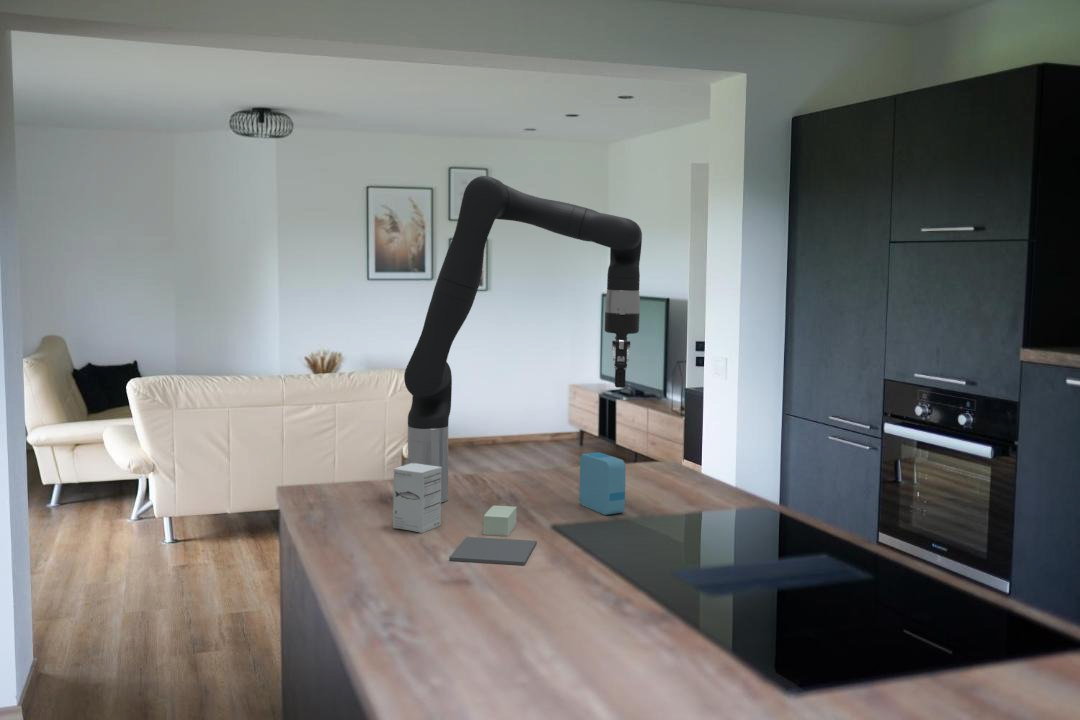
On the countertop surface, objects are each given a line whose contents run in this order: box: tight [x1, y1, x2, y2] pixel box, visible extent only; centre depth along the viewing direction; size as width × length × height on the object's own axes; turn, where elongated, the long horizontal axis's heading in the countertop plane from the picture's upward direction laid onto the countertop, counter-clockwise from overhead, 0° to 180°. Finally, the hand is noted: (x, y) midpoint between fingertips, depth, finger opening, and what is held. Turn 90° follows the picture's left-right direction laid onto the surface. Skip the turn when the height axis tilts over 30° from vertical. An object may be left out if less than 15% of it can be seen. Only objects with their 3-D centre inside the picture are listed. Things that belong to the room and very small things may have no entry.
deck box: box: [482, 504, 517, 537], centre depth 203 cm, size 5×9×4 cm, turn 170°
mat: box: [448, 536, 537, 566], centre depth 187 cm, size 14×14×1 cm
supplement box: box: [392, 463, 442, 534], centre depth 203 cm, size 7×7×13 cm
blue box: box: [578, 452, 627, 516], centre depth 220 cm, size 12×4×12 cm, turn 30°
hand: (619, 384), depth 217 cm, fingers open, 8 cm apart
